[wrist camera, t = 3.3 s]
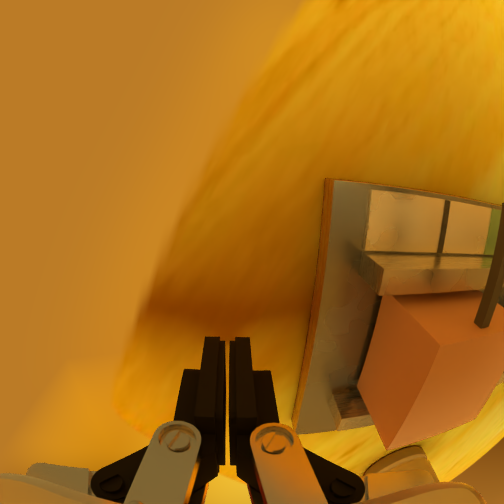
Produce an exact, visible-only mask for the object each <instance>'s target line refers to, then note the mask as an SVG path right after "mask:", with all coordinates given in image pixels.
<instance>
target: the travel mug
mask: <svg viewBox="0 0 504 504" xmlns="http://www.w3.org/2000/svg"><path fill="white" fill-rule="evenodd" d="M414 469H423V470H425V471H428V472H429V473H430V474H431V475H432V477H433V479H434V483H439V480H438V478H437V476H436V474H435V472H434V470H433V468H432V466H431V464H430V462H429V461H428V460H427V456H426V455H425V453H424V451H423V449H422V448H421V447H418V446H413V447H407V448H404V449H401V450H398V451H396V452H394V453H391V454H389V455H387V456H386V457H384V458H382V459H380V460H379V461H378V462H376V463H375V464H373V465H372V466H371V467H370V468H369V469H368V470H367V471H366V473H365V474H364V476H366V475H367V474H370V473H385V472H396V471H406V470H414Z"/></svg>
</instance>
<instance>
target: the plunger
mask: <svg viewBox="0 0 504 504" xmlns="http://www.w3.org/2000/svg"><path fill="white" fill-rule="evenodd" d="M503 282H504V203H502V210H501V217H500V224H499V230H498V235H497V240H496V245H495V250H494V255H493V259H492V263H491V267H490V271H489V275H488V279H487V282H486V286H485V289H484V293H482V292H481V291H479V290H468V291H455V292H441V293H424V294H406V295H383V296H382V300H381V304H380V308H379V313H378V317H377V321H376V324H375V328H374V332H373V336H372V339H371V343H370V346H369V350H368V353H367V356H366V360H365V363H364V366H363V369H362V372H361V375H360V378H359V381H358V384H357V388H358V390H359V392H360V394H361V396H362V398H363V400H364V403H365V405H366V407H367V409H368V411H369V413H370V415H371V418H372V420H373V422H374V424H375V426H376V429H377V431H378V433H379V435H380V437H381V440H382V442H383V444H384V446H385V449H386V451H387V450H391V449H394V448H398V447H401V446H405V445H408V444H411V443H414V442H418V441H421V440H424V439H426V438H429V437H432V436H435V435H438V434H440V433H443V432H445V431H448V430H451V429H453V428H455V427H458V426H460V425H463V424H465V423H467V422H469V421H472V420H474V419H475V418H476V417H477V415H478V414H479V412H480V411H481V409H482V408H483V406H484V405H485V403H486V401H487V400H488V398H489V397H490V395H491V393H492V392H493V390H494V388H495V386H496V385H497V383H498V381H499V379H500V377H501V376H502V374H503V372H504V308H503V307H502V306H501V305H499V304H498V303H497V302H498V299H499V296H500V292H501V289H502V286H503Z"/></svg>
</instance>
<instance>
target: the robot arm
mask: <svg viewBox="0 0 504 504" xmlns="http://www.w3.org/2000/svg"><path fill="white" fill-rule="evenodd" d="M225 432H226V365H225V341H220V337H206V336H205V341H204V348H203V354H202V362H201V369H200V370H198V369H184V371H183V376H182V380H181V385H180V390H179V395H178V400H177V405H176V411H175V416H174V421H170V422H167V423H164V424H162V425H161V426H160V427H158V428H157V430H156V431H155V432H154V435H153V437H152V439H151V441H150V444H149V445H148V446H146V447H144V448H143V449H141V450H139V451H137V452H135V453H133V454H131V455H129V456H127V457H125V458H123V459H121V460H118V461H116V462H114V463H112V464H110V465H108V466H106V467H103V468H101V469H100V470H98V471H90V469H88V468H77V467H67V466H60V465H53V464H47V463H36V464H33V465H32V466H31V467H30V468H28V471H27V473H26V475H21V474H11V473H3V474H0V504H204V503H205V498H206V494H207V490H208V486H209V481H211V480H212V479H214V478H215V477H217V476H218V473H219V465H225ZM229 442H230V465H236V470H237V476H238V477H239V478H240V479H242V480H243V481H245V482H246V483H247V488H248V491H249V495H250V499H251V503H252V504H487V503H486V501H485V500H484V498H483V497H482V496H481V495H480V493H479V492H478V491H477V490H476V489H475V488H473V487H472V486H470V485H468V484H465V483H460V482H439V483H434V479H433V477H432V475H431V474H430V473H429V472H428V471H425V470H423V469H414V470H406V471H396V472H385V473H370V474H367V475H366V476H358V475H356V474H354V473H353V472H350V471H348V470H346V469H344V468H342V467H340V466H338V465H336V464H334V463H332V462H330V461H328V460H326V459H324V458H322V457H320V456H318V455H316V454H314V453H312V452H311V451H309V450H307V449H305V448H303V446H302V444H301V442H300V439H299V437H298V435H297V434H296V432H295V431H294V430H293V429H292V428H291V427H289V426H287V425H284V424H281V423H279V417H278V411H277V405H276V399H275V393H274V387H273V381H272V375H271V371H270V370H264V371H253V369H252V358H251V346H250V337H235V341H230V353H229Z"/></svg>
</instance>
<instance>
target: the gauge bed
mask: <svg viewBox="0 0 504 504" xmlns="http://www.w3.org/2000/svg"><path fill="white" fill-rule="evenodd" d="M501 210H502V206H501V205H496V204H492V203H488V202H483V201H478V200H474V199H469V198H464V197H459V196H453V195H448V194H442V193H437V192H431V191H425V190H419V189H412V188H405V187H398V186H391V185H384V184H376V183H367V182H359V181H349V180H339V179H328V178H325V187H324V200H323V212H322V223H321V234H320V244H319V253H318V262H317V270H316V279H315V286H314V294H313V301H312V309H311V315H310V322H309V329H308V335H307V341H306V347H305V353H304V359H303V365H302V370H301V376H300V381H299V386H298V392H297V397H296V402H295V407H294V411H293V416H292V425H293V430H294V431H295V432H296V434H297V435H298V434H309V433H318V432H327V431H334V430H337V431H341V430H347V429H353V428H359V427H365V426H370V425H375V424H374V422H373V420H372V418H371V415H370V413H369V411H368V409H367V407H366V405H365V403H364V400H363V398H362V396H361V394H360V392H359V390H358V388H357V384H358V381H359V378H360V375H361V372H362V369H363V366H364V363H365V360H366V356H367V353H368V350H369V346H370V343H371V339H372V336H373V332H374V328H375V324H376V321H377V317H378V313H379V308H380V304H381V300H382V296H383V295H406V294H424V293H441V292H455V291H468V290H479V291H481V292H482V293H484V289H485V286H486V282H487V279H488V275H489V271H490V267H491V263H492V259H493V255H494V250H495V245H496V240H497V235H498V230H499V224H500V217H501ZM497 303H498V304H499V305H501V306H502V307H503V308H504V282H503V286H502V289H501V292H500V296H499V299H498V302H497ZM502 382H504V372H503V374H502V376H501V377H500V379H499V381H498V383H497V385H498V384H500V383H502Z"/></svg>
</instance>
